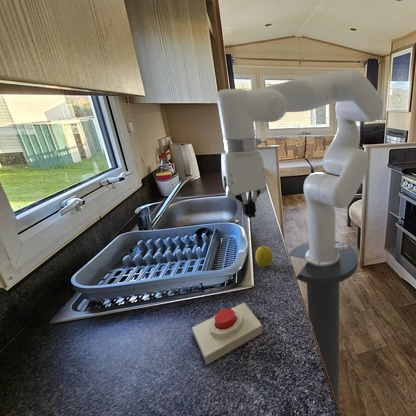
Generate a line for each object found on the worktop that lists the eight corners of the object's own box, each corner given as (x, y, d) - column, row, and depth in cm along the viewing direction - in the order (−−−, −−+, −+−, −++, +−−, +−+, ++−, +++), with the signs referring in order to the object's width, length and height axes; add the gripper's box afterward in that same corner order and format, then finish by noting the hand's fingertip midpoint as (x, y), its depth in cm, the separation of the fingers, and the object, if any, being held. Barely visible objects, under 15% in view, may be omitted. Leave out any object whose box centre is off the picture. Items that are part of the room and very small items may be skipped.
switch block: (245, 309, 69) (243, 297, 68) (262, 332, 62) (261, 319, 61) (193, 335, 62) (190, 322, 60) (206, 365, 55) (203, 351, 53)
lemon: (268, 273, 84) (265, 251, 81) (253, 269, 86) (250, 248, 83) (276, 263, 89) (274, 243, 86) (262, 261, 91) (260, 240, 88)
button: (231, 312, 64) (230, 305, 63) (238, 323, 60) (237, 316, 60) (213, 321, 61) (211, 314, 60) (219, 333, 58) (218, 326, 57)
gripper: (261, 141, 70) (268, 205, 76) (203, 147, 61) (217, 219, 68) (276, 144, 64) (281, 212, 71) (214, 151, 55) (227, 228, 62)
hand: (250, 215), depth 69 cm, fingers closed
